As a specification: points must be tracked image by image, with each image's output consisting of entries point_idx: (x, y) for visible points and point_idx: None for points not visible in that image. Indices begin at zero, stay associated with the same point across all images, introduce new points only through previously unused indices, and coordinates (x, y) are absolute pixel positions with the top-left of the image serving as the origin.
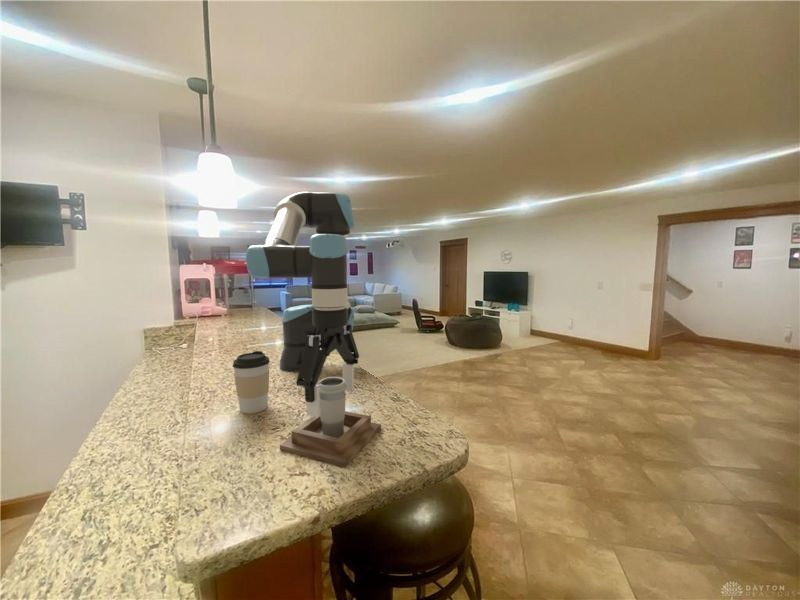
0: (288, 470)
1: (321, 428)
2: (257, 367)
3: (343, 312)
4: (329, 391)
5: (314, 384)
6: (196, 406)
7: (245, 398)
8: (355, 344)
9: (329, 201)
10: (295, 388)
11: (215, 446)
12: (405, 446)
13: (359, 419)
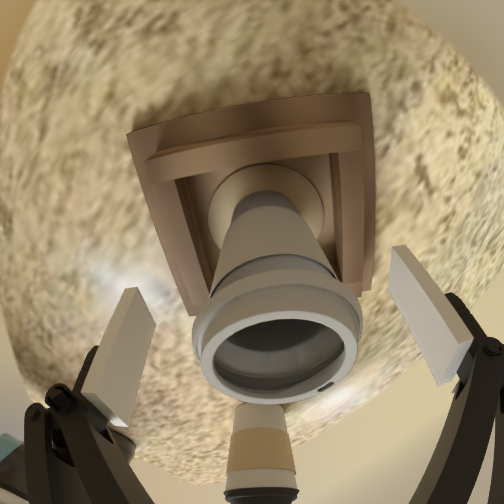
0: (421, 208)
1: None
2: (272, 486)
3: None
4: (358, 308)
5: (495, 344)
6: (301, 443)
7: (287, 433)
8: (28, 486)
9: None
10: (155, 411)
11: (389, 362)
12: (176, 4)
13: (178, 187)
